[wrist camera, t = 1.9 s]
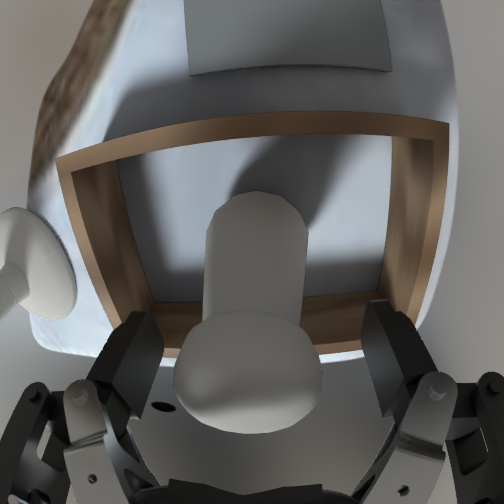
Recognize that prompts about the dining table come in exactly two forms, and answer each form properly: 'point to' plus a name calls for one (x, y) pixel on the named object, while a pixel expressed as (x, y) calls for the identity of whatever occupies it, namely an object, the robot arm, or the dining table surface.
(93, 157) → the frame
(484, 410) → the robot arm
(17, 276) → the candlestick
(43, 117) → the dining table surface
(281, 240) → the salt shaker
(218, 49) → the grey mat
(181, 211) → the dining table surface
